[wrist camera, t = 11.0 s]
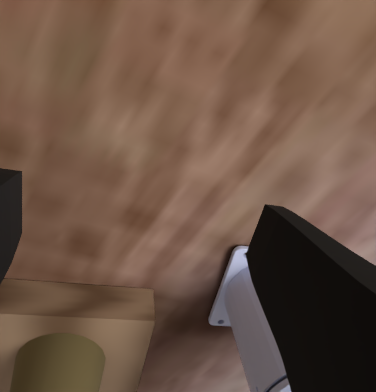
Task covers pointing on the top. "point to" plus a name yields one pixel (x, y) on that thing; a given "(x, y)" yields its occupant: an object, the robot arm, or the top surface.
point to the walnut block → (79, 324)
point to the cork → (58, 365)
